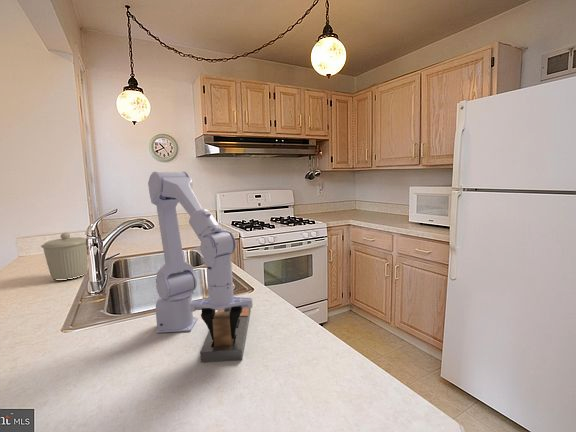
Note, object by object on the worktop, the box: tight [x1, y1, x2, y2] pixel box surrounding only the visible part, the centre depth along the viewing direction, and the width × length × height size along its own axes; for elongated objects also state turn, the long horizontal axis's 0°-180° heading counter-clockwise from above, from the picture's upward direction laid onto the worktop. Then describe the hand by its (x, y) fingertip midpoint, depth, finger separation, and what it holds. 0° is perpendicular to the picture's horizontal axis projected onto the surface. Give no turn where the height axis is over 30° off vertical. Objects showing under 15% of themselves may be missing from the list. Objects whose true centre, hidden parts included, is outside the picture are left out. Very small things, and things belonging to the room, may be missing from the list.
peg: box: [212, 311, 234, 347], centre depth 75 cm, size 4×4×9 cm
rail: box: [199, 307, 252, 363], centre depth 84 cm, size 9×27×3 cm, turn 3°
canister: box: [40, 232, 89, 280], centre depth 142 cm, size 18×18×21 cm
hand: (223, 337), depth 75 cm, fingers closed on peg, 4 cm apart
